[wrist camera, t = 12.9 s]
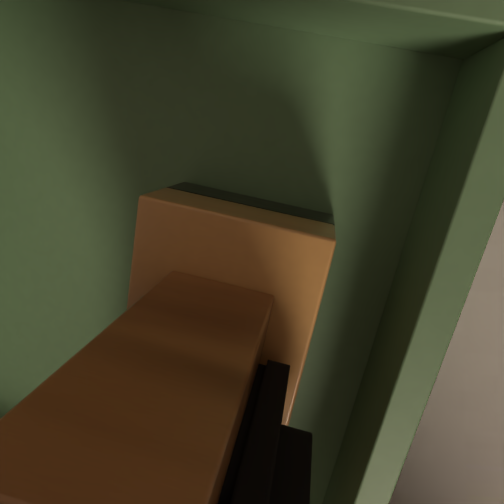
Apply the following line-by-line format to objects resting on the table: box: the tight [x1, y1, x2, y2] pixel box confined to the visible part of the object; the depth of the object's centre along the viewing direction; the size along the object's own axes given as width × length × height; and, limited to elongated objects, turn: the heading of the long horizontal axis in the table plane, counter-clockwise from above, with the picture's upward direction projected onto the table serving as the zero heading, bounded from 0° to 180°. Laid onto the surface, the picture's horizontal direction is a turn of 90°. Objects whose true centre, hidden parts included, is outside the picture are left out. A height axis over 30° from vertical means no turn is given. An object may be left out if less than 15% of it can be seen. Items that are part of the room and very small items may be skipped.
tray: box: [0, 0, 504, 504], centre depth 12 cm, size 19×15×4 cm
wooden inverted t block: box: [0, 182, 336, 504], centre depth 9 cm, size 9×4×9 cm, turn 169°
